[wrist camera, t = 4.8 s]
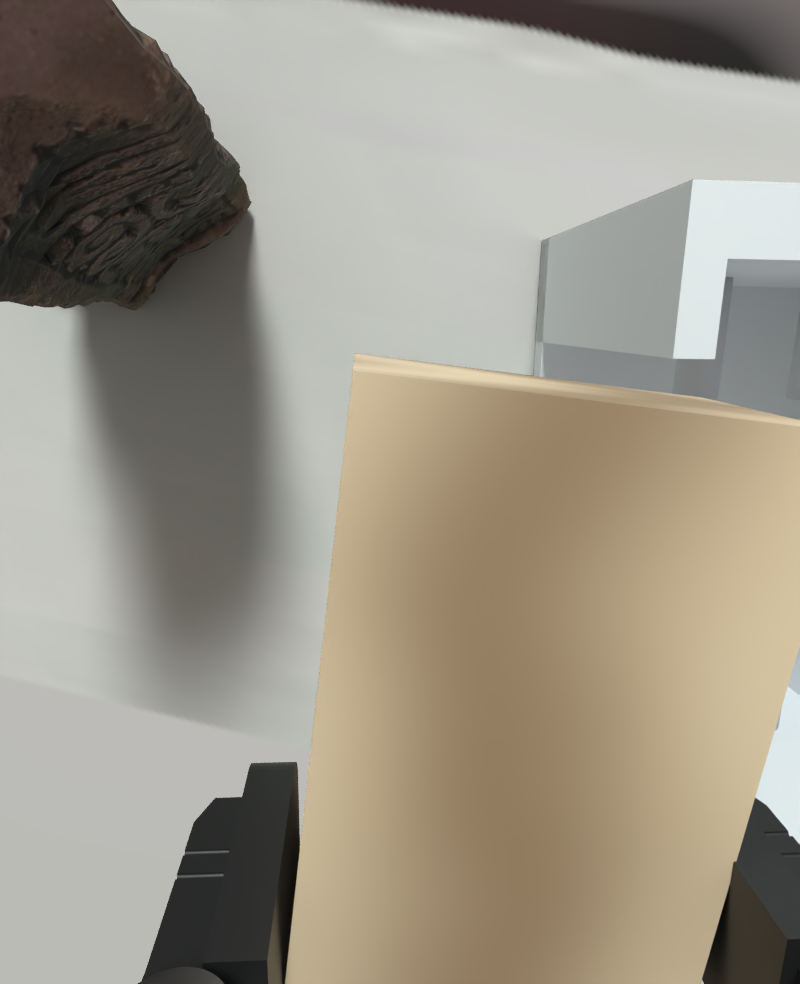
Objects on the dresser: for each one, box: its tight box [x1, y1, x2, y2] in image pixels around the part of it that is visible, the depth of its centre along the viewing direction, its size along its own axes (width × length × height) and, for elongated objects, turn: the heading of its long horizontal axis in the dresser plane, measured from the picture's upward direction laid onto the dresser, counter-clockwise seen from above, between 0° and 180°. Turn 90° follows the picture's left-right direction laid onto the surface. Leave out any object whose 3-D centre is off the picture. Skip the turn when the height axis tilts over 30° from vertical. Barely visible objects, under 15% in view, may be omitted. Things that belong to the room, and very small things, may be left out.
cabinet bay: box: [533, 180, 800, 844], centre depth 23 cm, size 12×19×12 cm, turn 179°
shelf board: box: [285, 353, 800, 984], centre depth 10 cm, size 6×14×4 cm, turn 173°
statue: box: [0, 0, 251, 310], centre depth 16 cm, size 7×7×20 cm
